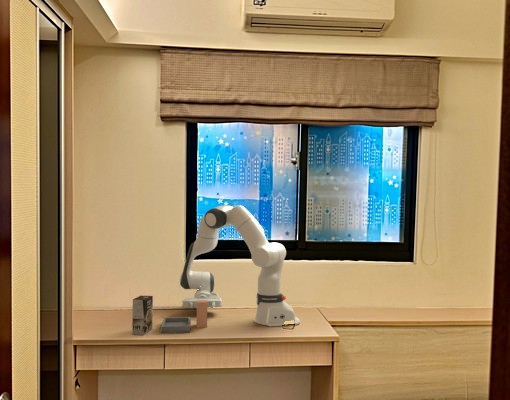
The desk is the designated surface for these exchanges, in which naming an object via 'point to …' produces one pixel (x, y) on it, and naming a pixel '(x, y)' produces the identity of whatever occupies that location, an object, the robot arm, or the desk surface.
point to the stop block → (201, 313)
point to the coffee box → (142, 315)
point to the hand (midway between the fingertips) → (202, 306)
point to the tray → (176, 325)
